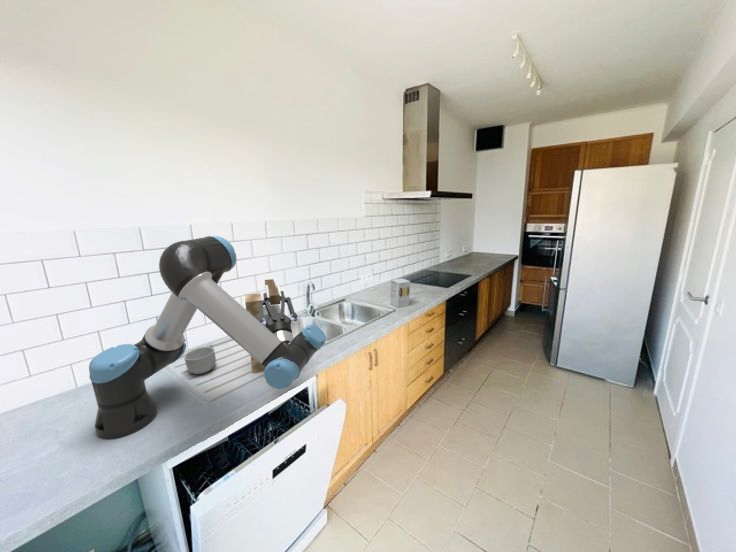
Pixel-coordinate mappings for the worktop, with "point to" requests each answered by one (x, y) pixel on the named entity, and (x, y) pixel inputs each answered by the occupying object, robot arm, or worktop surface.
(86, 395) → the worktop surface
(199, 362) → the teacup
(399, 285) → the supplement box
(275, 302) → the rail
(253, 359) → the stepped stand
